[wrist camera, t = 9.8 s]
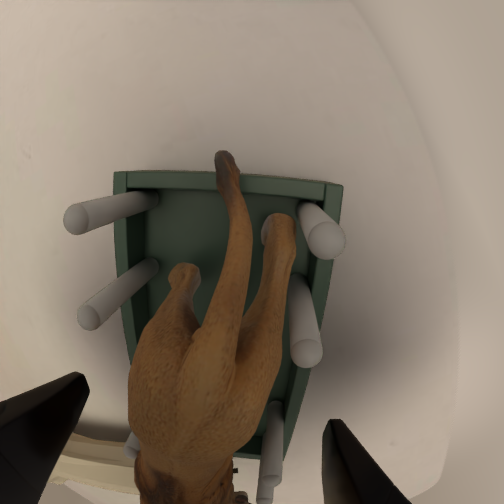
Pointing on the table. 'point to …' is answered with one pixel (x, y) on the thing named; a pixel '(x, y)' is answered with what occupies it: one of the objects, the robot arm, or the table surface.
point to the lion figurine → (210, 363)
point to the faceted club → (96, 465)
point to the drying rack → (218, 274)
